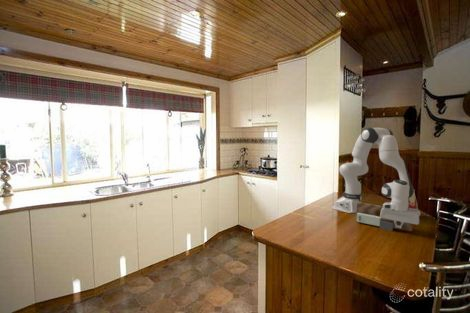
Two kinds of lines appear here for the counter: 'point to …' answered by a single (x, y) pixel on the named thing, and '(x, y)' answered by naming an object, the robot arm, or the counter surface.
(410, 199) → the milk carton
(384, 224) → the block
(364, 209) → the wall frame
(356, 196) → the robot arm
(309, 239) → the counter surface
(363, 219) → the sliding door
